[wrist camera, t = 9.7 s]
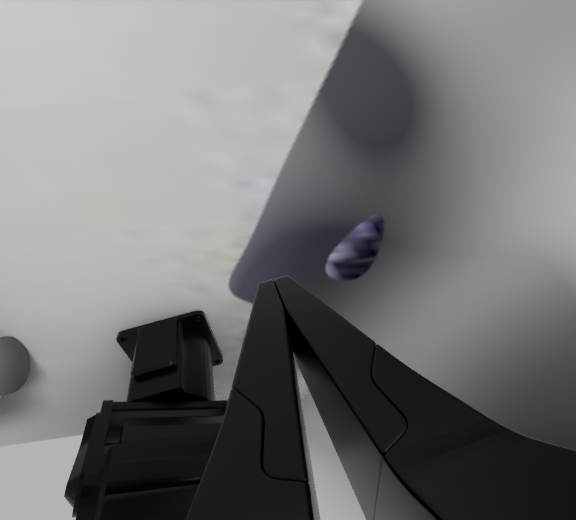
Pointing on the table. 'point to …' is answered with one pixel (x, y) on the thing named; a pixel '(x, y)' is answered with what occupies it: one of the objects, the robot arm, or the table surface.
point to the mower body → (12, 365)
